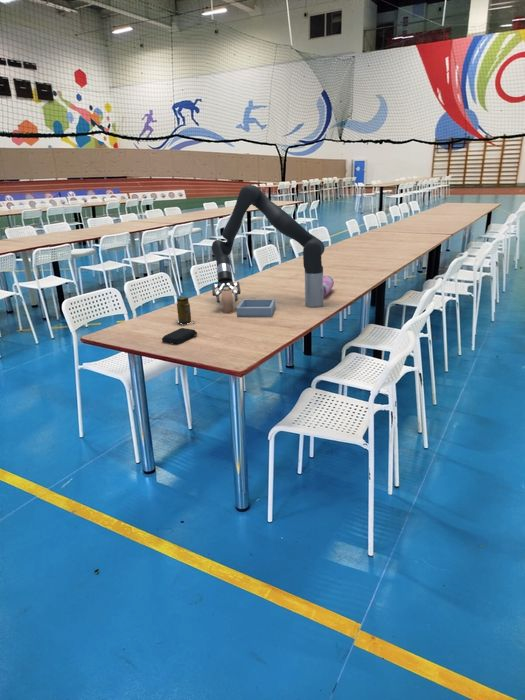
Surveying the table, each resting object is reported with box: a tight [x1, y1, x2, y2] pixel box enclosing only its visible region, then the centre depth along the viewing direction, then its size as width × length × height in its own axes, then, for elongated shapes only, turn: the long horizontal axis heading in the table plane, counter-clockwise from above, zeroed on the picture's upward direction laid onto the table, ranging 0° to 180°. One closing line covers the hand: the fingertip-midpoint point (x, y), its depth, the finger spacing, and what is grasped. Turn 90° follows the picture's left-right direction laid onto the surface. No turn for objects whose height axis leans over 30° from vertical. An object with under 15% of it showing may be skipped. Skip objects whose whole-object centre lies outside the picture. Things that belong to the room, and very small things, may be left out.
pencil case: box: [323, 274, 335, 298], centre depth 265 cm, size 21×9×9 cm, turn 159°
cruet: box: [221, 287, 234, 314], centre depth 241 cm, size 5×5×12 cm
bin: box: [236, 298, 277, 318], centre depth 239 cm, size 17×16×4 cm
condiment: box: [175, 296, 196, 326], centre depth 227 cm, size 7×8×12 cm
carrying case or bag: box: [161, 327, 198, 345], centre depth 207 cm, size 11×3×15 cm
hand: (227, 301), depth 240 cm, fingers open, 8 cm apart
